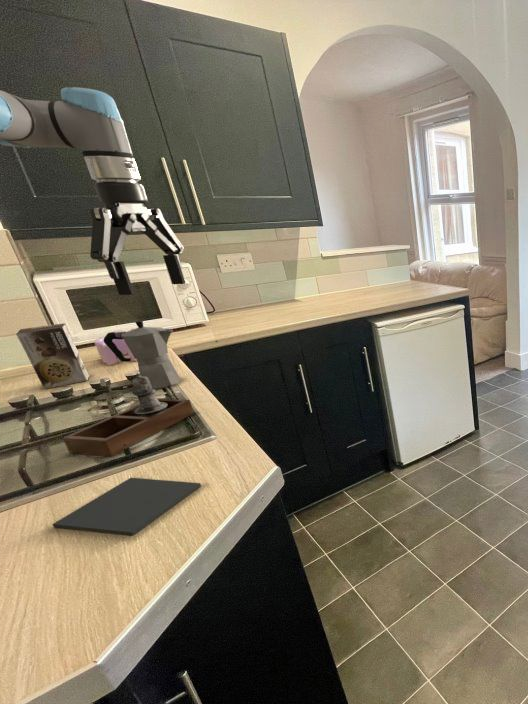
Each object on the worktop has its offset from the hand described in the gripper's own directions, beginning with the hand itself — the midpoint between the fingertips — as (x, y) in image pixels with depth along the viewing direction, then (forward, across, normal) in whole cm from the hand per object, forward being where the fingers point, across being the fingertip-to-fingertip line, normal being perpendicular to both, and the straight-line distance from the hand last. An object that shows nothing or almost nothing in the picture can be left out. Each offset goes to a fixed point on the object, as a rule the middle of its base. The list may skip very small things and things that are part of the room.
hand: (154, 289), depth 92 cm
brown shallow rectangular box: (+28, -13, +3) cm, 31 cm away
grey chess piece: (+29, -9, +2) cm, 30 cm away
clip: (+29, +41, +56) cm, 75 cm away
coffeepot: (+29, +14, +22) cm, 39 cm away
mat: (+28, -38, -19) cm, 51 cm away
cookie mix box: (+29, +16, +51) cm, 61 cm away
